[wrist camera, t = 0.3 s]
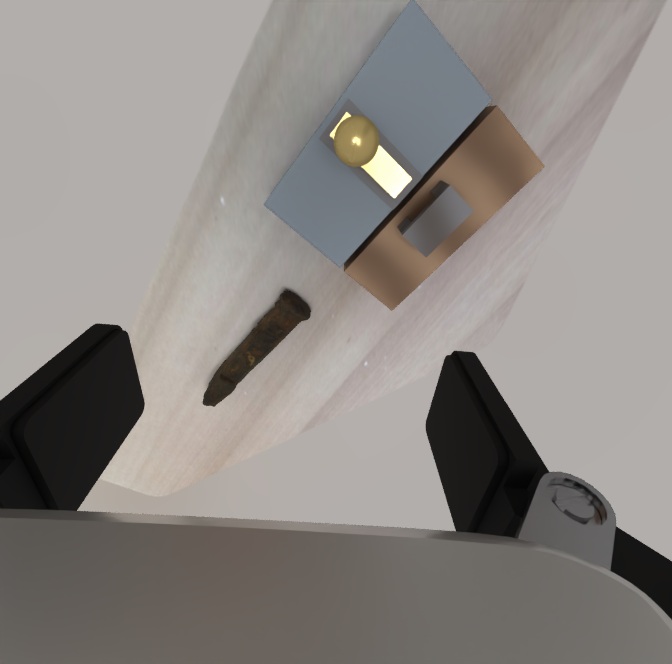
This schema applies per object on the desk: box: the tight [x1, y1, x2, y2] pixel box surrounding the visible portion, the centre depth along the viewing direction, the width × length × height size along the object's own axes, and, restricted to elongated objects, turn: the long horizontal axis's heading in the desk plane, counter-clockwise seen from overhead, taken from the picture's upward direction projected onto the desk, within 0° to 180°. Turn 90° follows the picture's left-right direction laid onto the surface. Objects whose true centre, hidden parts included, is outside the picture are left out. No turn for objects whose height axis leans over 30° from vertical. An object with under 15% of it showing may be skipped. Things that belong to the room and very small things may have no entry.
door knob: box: [330, 112, 412, 198], centre depth 25 cm, size 3×7×7 cm, turn 49°
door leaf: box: [263, 0, 492, 267], centre depth 31 cm, size 18×9×4 cm, turn 139°
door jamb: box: [344, 106, 545, 310], centre depth 32 cm, size 18×7×7 cm, turn 139°
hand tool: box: [203, 290, 311, 407], centre depth 42 cm, size 19×4×5 cm, turn 135°
